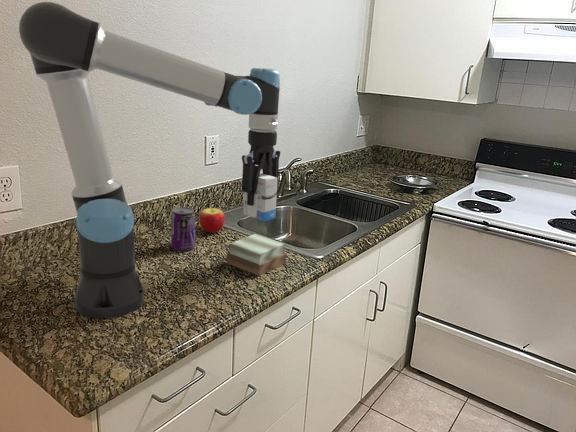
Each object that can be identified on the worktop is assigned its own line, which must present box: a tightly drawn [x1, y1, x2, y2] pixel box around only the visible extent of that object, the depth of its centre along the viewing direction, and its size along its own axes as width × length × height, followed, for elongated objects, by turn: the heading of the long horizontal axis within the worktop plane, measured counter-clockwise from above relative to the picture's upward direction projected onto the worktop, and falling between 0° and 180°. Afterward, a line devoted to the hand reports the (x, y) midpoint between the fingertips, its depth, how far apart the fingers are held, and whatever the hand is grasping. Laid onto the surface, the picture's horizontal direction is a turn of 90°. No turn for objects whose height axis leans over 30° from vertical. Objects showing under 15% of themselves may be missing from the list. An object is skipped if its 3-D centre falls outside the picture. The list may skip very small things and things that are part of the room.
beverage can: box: [170, 206, 196, 252], centre depth 144 cm, size 7×7×12 cm
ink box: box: [242, 172, 278, 222], centre depth 133 cm, size 8×5×12 cm, turn 47°
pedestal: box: [226, 233, 287, 277], centre depth 138 cm, size 12×12×6 cm
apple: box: [198, 200, 226, 234], centre depth 159 cm, size 8×8×10 cm
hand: (259, 213), depth 134 cm, fingers closed on ink box, 5 cm apart
